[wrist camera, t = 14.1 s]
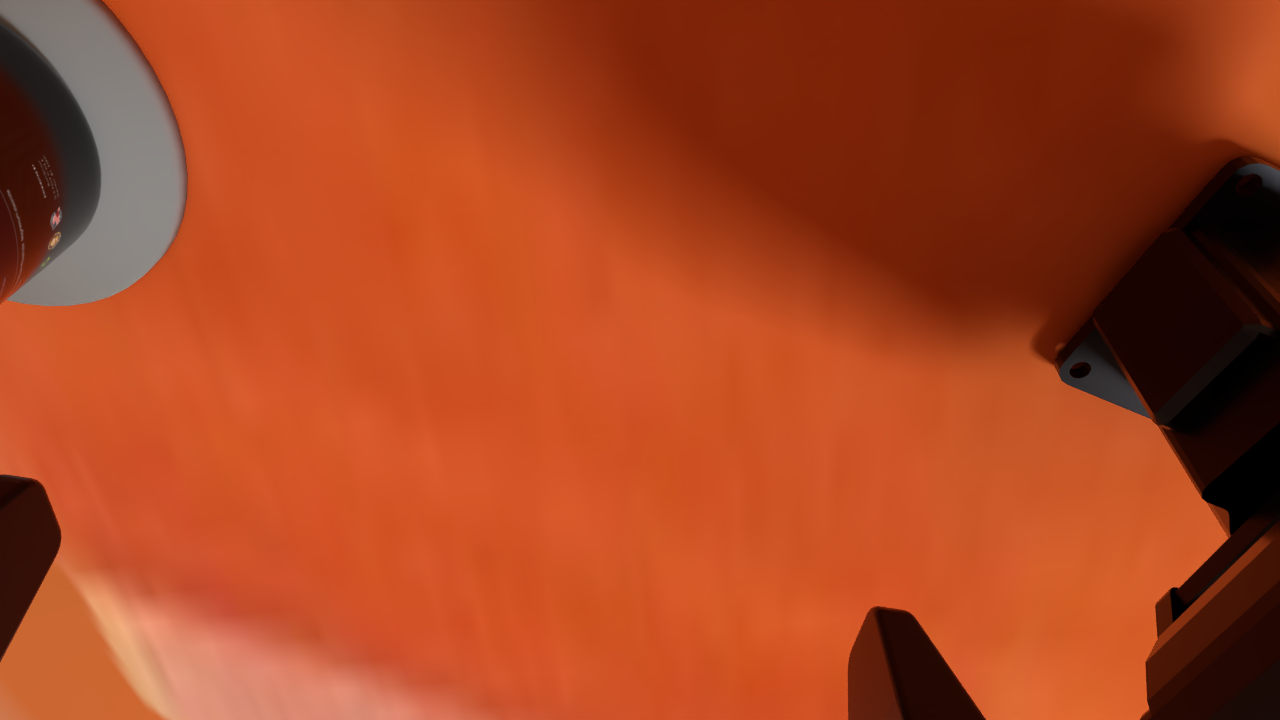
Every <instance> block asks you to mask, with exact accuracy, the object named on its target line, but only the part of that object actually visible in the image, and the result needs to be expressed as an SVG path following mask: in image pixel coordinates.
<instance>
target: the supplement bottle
mask: <svg viewBox="0 0 1280 720" xmlns="http://www.w3.org/2000/svg"><path fill="white" fill-rule="evenodd" d="M101 181H102V180H101V165H100V158H99V153H98V149H97V145H96V142H95V139H94V136H93V133H92V130H91V128H90V125H89V123H88V121H87V119H86V116H85V115H84V113H83V111H82V109H81V107H80V105H79V103H78V102H77V100H76V99H75V97H74V96H73V94H72V92H71V91H70V89H69V88H68V87H67V85H66V84H65V83H64V81H63V80H62V79H61V77H60V76H59V75H58V74H57V72H56V71H55V70H54V69H53V68H52V67H51V65H50V64H49V63H48V62H47V61H46V60H45V59H44V58H43V57H42V56H41V55H40V54H39V53H38V52H37V51H36V50H35V49H34V48H33V47H32V46H31V45H30V44H28V43H27V42H26V41H25V40H24V39H23V38H22V37H20V36H19V35H18V34H17V33H15V32H14V31H13V30H12V29H10V28H9V27H7V26H6V25H5V24H3V23H2V22H0V305H1V304H2V303H3V302H4V301H5V300H7V299H8V298H9V297H10V296H12V295H13V294H14V293H15V292H16V291H18V290H19V289H20V288H21V287H23V286H24V285H25V284H26V283H27V282H29V281H30V280H31V279H32V278H33V277H35V276H36V275H37V274H38V273H40V272H41V271H42V270H43V269H44V268H46V267H47V266H48V265H49V264H50V263H52V262H53V261H54V260H55V259H56V258H57V257H58V256H59V255H61V254H62V253H63V252H64V251H65V250H66V249H68V248H69V247H70V246H71V245H72V244H73V243H74V242H75V241H76V240H77V239H78V238H79V237H80V236H81V235H82V234H83V233H84V231H85V230H86V229H87V228H88V226H89V224H90V223H91V221H92V219H93V217H94V215H95V212H96V209H97V207H98V203H99V199H100V194H101Z"/></svg>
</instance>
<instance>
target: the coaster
mask: <svg viewBox="0 0 1280 720" xmlns="http://www.w3.org/2000/svg"><path fill="white" fill-rule="evenodd" d="M0 22H2V23H3V24H5V25H6V26H7V27H9V28H10V29H12V30H13V31H14V32H15V33H17V34H18V35H19V36H20V37H22V38H23V39H24V40H25V41H26V42H27V43H28V44H30V45H31V46H32V47H33V48H34V49H35V50H36V51H37V52H38V53H39V54H40V55H41V56H42V57H43V58H44V59H45V60H46V61H47V62H48V63H49V64H50V65H51V67H52V68H53V69H54V70H55V71H56V72H57V74H58V75H59V76H60V77H61V79H62V80H63V81H64V83H65V84H66V85H67V87H68V88H69V89H70V91H71V92H72V94H73V96H74V97H75V99H76V100H77V102H78V103H79V105H80V107H81V109H82V111H83V113H84V115H85V116H86V119H87V121H88V123H89V125H90V128H91V130H92V133H93V136H94V139H95V142H96V145H97V149H98V153H99V158H100V165H101V180H102V181H101V194H100V199H99V203H98V207H97V209H96V212H95V215H94V217H93V219H92V221H91V223H90V224H89V226H88V228H87V229H86V230H85V231H84V233H83V234H82V235H81V236H80V237H79V238H78V239H77V240H76V241H75V242H74V243H73V244H72V245H71V246H70V247H69V248H68V249H66V250H65V251H64V252H63V253H62V254H61V255H59V256H58V257H57V258H56V259H55V260H54V261H53V262H52V263H50V264H49V265H48V266H47V267H46V268H44V269H43V270H42V271H41V272H40V273H38V274H37V275H36V276H35V277H33V278H32V279H31V280H30V281H29V282H27V283H26V284H25V285H24V286H23V287H21V288H20V289H19V290H18V291H16V292H15V293H14V294H13V295H12V296H10V297H9V298H8V299H7V300H9V301H14V302H19V303H23V304H33V305H43V306H70V305H77V304H84V303H90V302H94V301H97V300H100V299H104V298H107V297H110V296H112V295H114V294H116V293H118V292H120V291H122V290H124V289H126V288H128V287H129V286H131V285H132V284H133V283H135V282H136V281H137V280H139V279H140V278H141V277H142V276H144V275H145V274H146V273H147V272H148V271H149V270H150V269H151V268H152V267H153V266H154V265H155V264H156V263H157V262H158V261H159V260H160V259H161V258H162V257H163V255H164V254H165V253H166V252H167V251H168V249H169V247H170V246H171V244H172V242H173V241H174V239H175V237H176V236H177V233H178V230H179V228H180V225H181V222H182V220H183V216H184V211H185V205H186V200H187V166H186V158H185V150H184V146H183V142H182V138H181V134H180V131H179V127H178V123H177V120H176V118H175V115H174V113H173V110H172V108H171V105H170V102H169V100H168V97H167V95H166V93H165V91H164V89H163V87H162V85H161V83H160V81H159V79H158V78H157V76H156V74H155V72H154V70H153V68H152V66H151V65H150V63H149V62H148V60H147V59H146V57H145V56H144V54H143V52H142V51H141V49H140V48H139V46H138V45H137V43H136V42H135V40H134V39H133V38H132V36H131V35H130V34H129V33H128V31H127V30H126V29H125V27H124V26H123V25H122V24H121V22H120V21H119V20H118V19H117V17H116V16H115V15H114V13H113V12H112V11H111V10H110V9H109V8H108V7H107V6H106V5H105V4H104V3H103V2H102V1H101V0H0Z"/></svg>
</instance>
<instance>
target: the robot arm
mask: <svg viewBox="0 0 1280 720" xmlns="http://www.w3.org/2000/svg"><path fill="white" fill-rule="evenodd" d="M1250 174H1253V178H1252V180H1251V181H1250V182H1249V183H1248V184H1247V185H1245V186H1244V187H1240V188H1236V185H1237V184H1238V182H1239V180H1240V179H1242V178H1243V177H1244V176H1246V175H1250ZM1079 362H1085V364H1084V365H1083V366H1081V367H1080V368H1077V369H1071V367H1072V366H1073V365H1075V364H1076V363H1079ZM1055 368H1056V370H1057V372H1058V374H1059V376H1060V378H1061V380H1062V381H1063V382H1064V383H1066V384H1067V385H1070V386H1072V387H1075V388H1077V389H1080V390H1082V391H1084V392H1087V393H1089V394H1092V395H1094V396H1097V397H1099V398H1101V399H1104V400H1106V401H1109V402H1111V403H1114V404H1116V405H1118V406H1121V407H1123V408H1126V409H1128V410H1131V411H1133V412H1135V413H1138V414H1140V415H1143V416H1145V417H1148V418H1150V419H1152V421H1153V422H1154V423H1155V424H1156V425H1158V427H1159V428H1160V430H1161V432H1162V433H1163V435H1164V437H1165V438H1166V440H1167V442H1168V443H1169V445H1170V446H1171V448H1172V450H1173V451H1174V453H1175V455H1176V456H1177V458H1178V460H1179V461H1180V463H1181V465H1182V466H1183V468H1184V469H1185V471H1186V473H1187V474H1188V476H1189V478H1190V479H1191V481H1192V483H1193V484H1194V486H1195V488H1196V489H1197V491H1198V492H1199V494H1200V496H1201V497H1202V499H1204V500H1205V501H1206V502H1207V503H1208V505H1209V507H1210V508H1211V510H1212V512H1213V513H1214V515H1215V516H1216V518H1217V520H1218V521H1219V523H1220V525H1221V526H1222V528H1223V530H1224V531H1225V533H1226V534H1227V536H1228V539H1227V540H1226V541H1225V542H1224V543H1223V544H1222V545H1221V546H1220V547H1219V548H1218V550H1217V551H1216V552H1215V553H1214V554H1213V555H1212V556H1211V557H1210V558H1209V559H1208V560H1207V561H1206V562H1205V563H1204V564H1203V565H1202V566H1201V567H1200V568H1199V569H1198V570H1197V571H1196V572H1195V573H1194V574H1193V575H1192V576H1191V577H1190V578H1189V579H1188V580H1187V581H1186V582H1185V583H1184V584H1183V585H1182V586H1181V587H1180V588H1175V587H1173V588H1171V589H1170V590H1169V591H1168V592H1167V593H1166V594H1165V595H1164V596H1163V597H1162V598H1161V599H1160V600H1159V601H1158V602H1157V603H1156V606H1155V608H1156V622H1157V636H1158V640H1157V641H1156V643H1155V645H1154V647H1153V649H1152V651H1151V653H1150V655H1149V657H1148V659H1147V661H1146V682H1147V702H1148V705H1149V710H1148V711H1146V712H1145V713H1144V714H1143V715H1142V717H1141V719H1140V720H1280V168H1279V167H1277V166H1275V165H1273V164H1270V163H1268V162H1266V161H1264V160H1262V159H1260V158H1258V157H1253V156H1244V157H1239V158H1237V159H1235V160H1232V161H1230V162H1229V163H1228V164H1227V165H1225V166H1224V167H1223V168H1222V169H1221V170H1220V171H1219V172H1218V173H1217V175H1216V176H1215V177H1214V178H1213V179H1212V180H1211V181H1210V183H1209V184H1208V185H1207V186H1206V187H1205V188H1204V189H1203V190H1202V192H1201V193H1200V194H1199V195H1198V196H1197V197H1196V198H1195V200H1194V201H1193V202H1192V203H1191V204H1190V205H1189V206H1188V208H1187V209H1186V210H1185V211H1184V212H1183V213H1182V214H1181V215H1180V217H1179V218H1178V219H1177V220H1176V221H1175V222H1174V223H1173V225H1172V226H1171V227H1170V228H1169V229H1168V230H1167V231H1166V232H1164V233H1162V234H1161V235H1160V236H1159V237H1158V238H1157V240H1156V241H1155V242H1154V243H1153V244H1152V245H1151V246H1150V248H1149V249H1148V250H1147V251H1146V252H1145V253H1144V254H1143V256H1142V257H1141V258H1140V259H1139V260H1138V261H1137V262H1136V264H1135V265H1134V266H1133V267H1132V268H1131V269H1130V270H1129V272H1128V273H1127V274H1126V275H1125V276H1124V277H1123V278H1122V279H1121V281H1120V282H1119V283H1118V284H1117V285H1116V286H1115V287H1114V289H1113V290H1112V291H1111V292H1110V293H1109V294H1108V295H1107V297H1106V298H1105V299H1104V300H1103V301H1102V302H1101V303H1100V305H1099V306H1098V307H1097V308H1096V309H1095V310H1094V312H1093V316H1092V317H1091V318H1090V319H1089V320H1088V321H1087V322H1086V324H1085V325H1084V326H1083V327H1082V328H1081V329H1080V330H1079V332H1078V333H1077V334H1076V335H1075V336H1074V337H1073V338H1072V339H1071V341H1070V342H1069V343H1068V344H1067V345H1066V346H1065V347H1064V349H1063V350H1062V351H1061V352H1060V353H1059V354H1058V356H1057V358H1056V359H1055ZM60 543H61V530H60V526H59V524H58V521H57V519H56V516H55V513H54V511H53V508H52V506H51V503H50V501H49V498H48V495H47V493H46V490H45V488H44V486H43V485H42V484H41V483H40V482H39V481H37V480H35V479H32V478H25V477H19V476H12V475H0V662H1V660H2V658H3V656H4V654H5V652H6V650H7V648H8V647H9V645H10V643H11V641H12V639H13V637H14V635H15V633H16V631H17V629H18V628H19V626H20V624H21V622H22V619H23V618H24V616H25V614H26V612H27V610H28V609H29V606H30V605H31V603H32V601H33V599H34V597H35V595H36V593H37V591H38V589H39V588H40V586H41V584H42V582H43V580H44V578H45V576H46V574H47V572H48V570H49V568H50V567H51V565H52V563H53V561H54V559H55V557H56V555H57V553H58V550H59V547H60ZM848 720H986V719H985V718H984V716H983V715H982V713H981V712H980V710H979V709H978V708H977V706H976V705H975V703H974V702H973V700H972V699H971V697H970V696H969V695H968V693H967V692H966V690H965V689H964V687H963V686H962V684H961V683H960V682H959V680H958V679H957V677H956V676H955V674H954V673H953V671H952V670H951V669H950V667H949V666H948V664H947V663H946V661H945V660H944V659H943V657H942V656H941V654H940V653H939V651H938V650H937V648H936V647H935V646H934V644H933V643H932V641H931V640H930V638H929V637H928V635H927V634H926V633H925V631H924V630H923V628H922V627H921V625H920V624H919V622H918V621H917V620H916V618H915V617H914V616H913V615H912V614H911V613H909V612H908V611H905V610H900V609H893V608H887V607H880V606H875V607H873V608H871V609H870V610H869V612H868V613H867V615H866V618H865V620H864V622H863V625H862V627H861V629H860V631H859V634H858V636H857V638H856V641H855V643H854V645H853V647H852V650H851V653H850V657H849V663H848Z"/></svg>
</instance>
